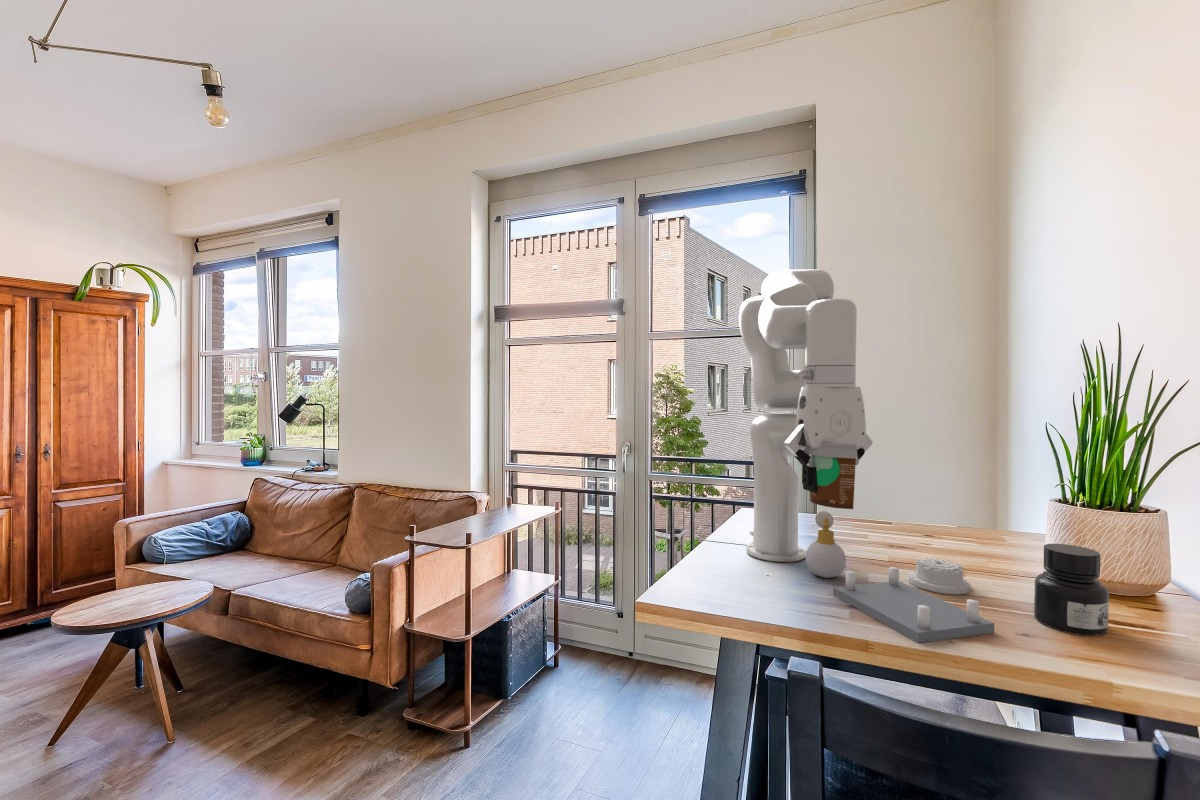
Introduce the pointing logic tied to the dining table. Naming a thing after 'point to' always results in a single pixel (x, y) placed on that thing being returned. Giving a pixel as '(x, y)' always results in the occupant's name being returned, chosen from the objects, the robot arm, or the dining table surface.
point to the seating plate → (913, 609)
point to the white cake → (939, 576)
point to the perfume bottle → (825, 550)
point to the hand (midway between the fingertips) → (828, 488)
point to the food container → (834, 474)
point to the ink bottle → (1071, 591)
